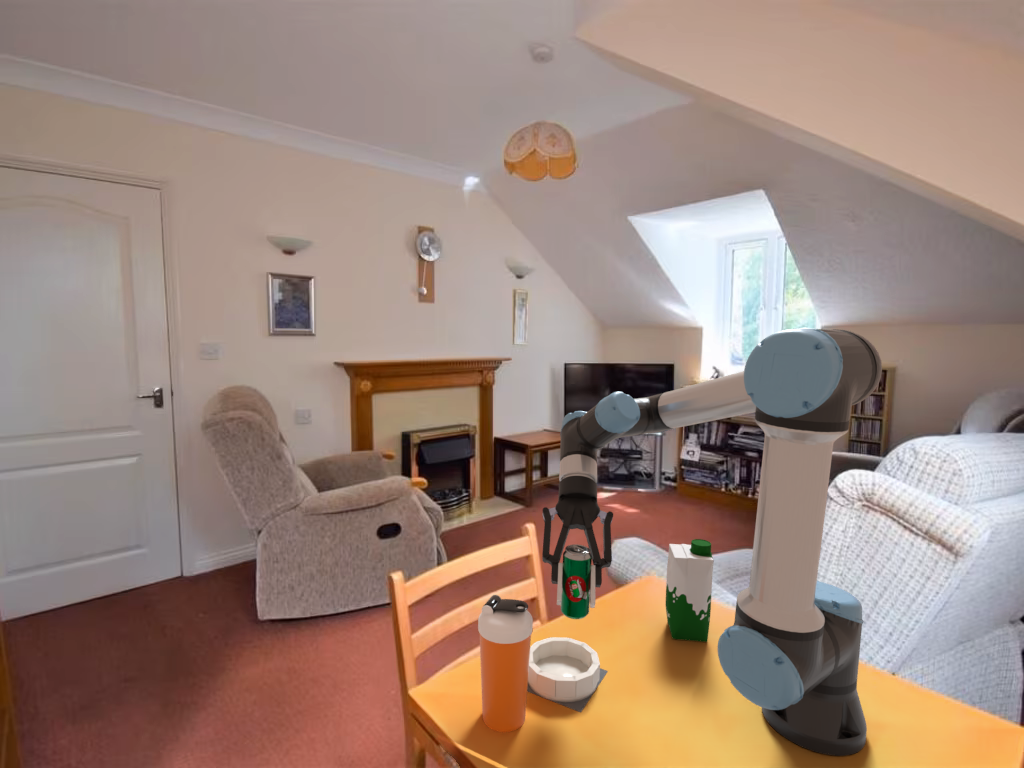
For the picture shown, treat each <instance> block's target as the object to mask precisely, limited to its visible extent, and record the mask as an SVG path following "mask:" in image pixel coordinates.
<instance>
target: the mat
mask: <svg viewBox="0 0 1024 768" xmlns="http://www.w3.org/2000/svg"><path fill="white" fill-rule="evenodd" d="M608 671H609V670H606V669H603V668H601V667H600V678H599V681H598V685H597V688H598V687H599V686H600V684H601V683H602V682H603V679H604V678H605V677H606V675H607V673H608ZM597 688H596V690H597ZM596 690H595V691H594V693H595V692H596ZM527 693H530V694H533V695H536V696H537V697H541V698H543V699H546V698H544V697H542V696H540V695H538V694H537V693H535V692H534V691H533V690H532V689H531V688H530V686H529V684H528V686H527ZM594 693H593V694H591V695H590V696H589V697H587V698H585V699H583V700H580V701H575V702H557V701H552V700H549V699H546V700H548V701H551V702H554V703H556V704H557V705H561V706H563V707H565V708H569V709H571V710H573V711H576V712H578V713H582V712H583V710H584V709H585V707H586V705H587V704H588V702H589V701H590V699H591V698H592V696H593V695H594Z"/></svg>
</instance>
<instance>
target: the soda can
mask: <svg viewBox="0 0 1024 768" xmlns="http://www.w3.org/2000/svg"><path fill="white" fill-rule="evenodd" d="M562 563H563V570H562V599H561V605H560V611H561V613H562V614H563V616H565V617H567V618H568V619H571V620H582V619H584V618H586V617H587V616H588V615H589V614H590V579H591V565H592V564H593V561H592V555H591V553H590V549H589V546H586V545H584V544H583V545H582V544H578V543H577V544H569V545H567V546H566V547H564V550H563V552H562Z"/></svg>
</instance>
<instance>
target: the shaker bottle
mask: <svg viewBox="0 0 1024 768" xmlns="http://www.w3.org/2000/svg"><path fill="white" fill-rule="evenodd" d="M528 609H529V605H528V603H527V602H526V601H525V600H519V599H511V598H501V596H499V595H498V594H493V595H491V596H490V598H489V599H488V600H487V601H486V602H485V604H484V605H483V606H482V607H481V612H480V613H479V616H478V618H477V619H478V620H477V622H478V625H477V632H478V634H479V651H480V652H479V653H480V659H479V660H480V678H481V679H480V680H481V704H482V705H481V706H482V707H481V708H482V709H481V710H482V720H483V723H484V724H485V726H486V727H488V729H491V730H492V731H494V732H498V733H499V732H500V733H508V732H509V733H510V732H514V731H517V730H518V729H520V728H521V727H522V726H523V725H524V724H525V721H526V716H527V715H526V714H527V713H526V712H527V701H528V700H527V698H528V692H527V686H528V671H529V656H530V647H531V641H532V640H531V638H532V635H533V629H534V628H533V627H534V626H533V624H534V619H533V616H532V614H531V613H530V612H529V610H528Z"/></svg>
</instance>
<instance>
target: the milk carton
mask: <svg viewBox="0 0 1024 768" xmlns="http://www.w3.org/2000/svg"><path fill="white" fill-rule="evenodd" d="M690 543H691V544H686V543H681V544H679V543H678V544H677V543H676V544H675V543H669V545H668V555H667V563H666V581H665V583H666V585H665V588H666V589H665V611H666V619H667V624H668V629H669V631H670V636H671V639H673V640H681V641H690V642H691V641H692V642H694V641H695V642H704V643H708V638H709V632H710V631H709V630H710V622H711V621H710V620H711V609H712V592H713V591H712V590H713V589H712V587H713V575H714V574H713V572H714V561H715V560H714V558H713V553H712V542H710V541H709V540H707V539H704V538H703V539H701V538H695V539H692V540H691V542H690Z"/></svg>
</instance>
